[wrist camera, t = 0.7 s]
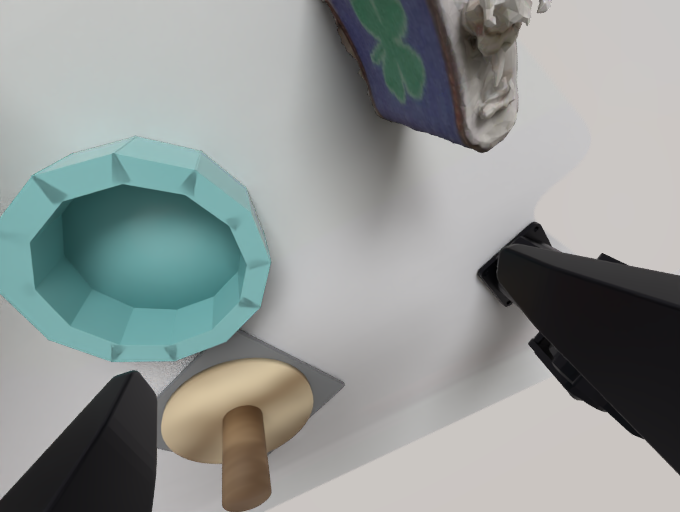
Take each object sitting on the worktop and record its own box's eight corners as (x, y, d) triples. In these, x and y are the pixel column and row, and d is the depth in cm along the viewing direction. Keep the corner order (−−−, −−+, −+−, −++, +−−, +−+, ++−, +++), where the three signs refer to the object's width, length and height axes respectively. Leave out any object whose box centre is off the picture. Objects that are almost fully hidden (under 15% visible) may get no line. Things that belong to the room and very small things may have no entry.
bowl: (296, 228, 21) (310, 257, 18) (188, 340, 23) (182, 386, 19) (123, 87, 15) (95, 92, 12) (-8, 255, 17) (-66, 301, 13)
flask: (296, -49, 15) (412, -234, 6) (349, -89, 14) (551, -339, 6) (381, 131, 20) (511, 181, 11) (420, 103, 20) (584, 129, 11)
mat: (343, 382, 30) (344, 385, 30) (252, 465, 32) (252, 469, 32) (228, 324, 23) (228, 327, 23) (119, 434, 25) (118, 439, 25)
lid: (337, 387, 30) (364, 461, 24) (251, 464, 31) (257, 550, 26) (230, 335, 23) (232, 420, 18) (128, 437, 25) (101, 543, 19)
